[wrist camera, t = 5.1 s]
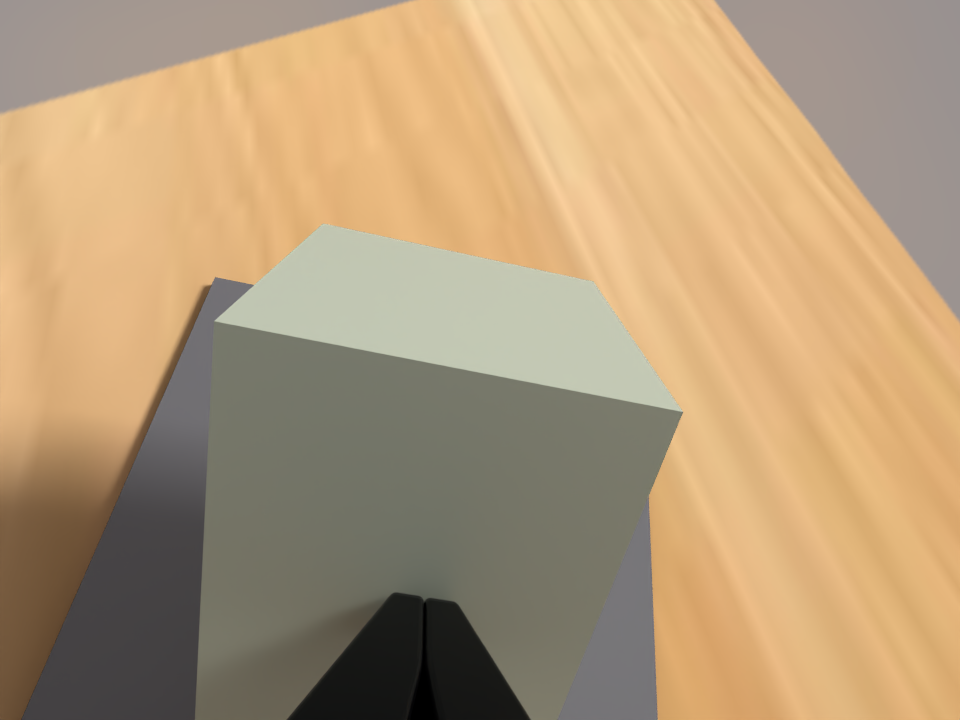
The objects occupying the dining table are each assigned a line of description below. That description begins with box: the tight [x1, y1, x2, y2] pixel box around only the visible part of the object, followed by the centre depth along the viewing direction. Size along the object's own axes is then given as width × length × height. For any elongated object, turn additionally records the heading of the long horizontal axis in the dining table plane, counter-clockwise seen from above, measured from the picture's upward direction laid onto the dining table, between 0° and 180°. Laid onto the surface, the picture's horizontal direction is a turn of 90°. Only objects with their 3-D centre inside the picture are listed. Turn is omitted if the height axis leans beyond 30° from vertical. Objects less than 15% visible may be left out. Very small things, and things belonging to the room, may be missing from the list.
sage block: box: [195, 224, 683, 720], centre depth 10 cm, size 5×5×8 cm
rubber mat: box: [21, 277, 658, 720], centre depth 14 cm, size 14×13×1 cm
